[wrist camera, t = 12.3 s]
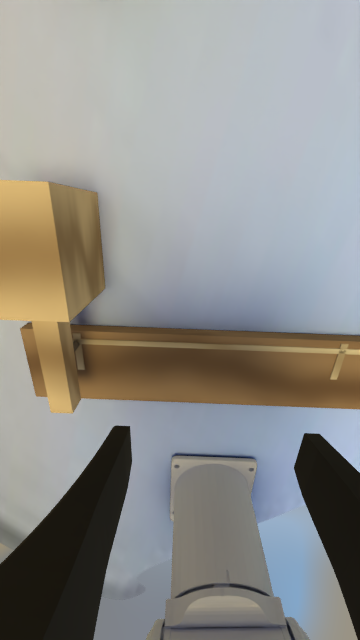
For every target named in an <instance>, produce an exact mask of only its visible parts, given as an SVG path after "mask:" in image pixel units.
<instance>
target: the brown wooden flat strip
mask: <svg viewBox="0 0 360 640" xmlns="http://www.w3.org/2000/svg"><path fill="white" fill-rule="evenodd" d="M70 328H71V335H72V341H73V342H74V341H77V342H79V344H80V345H79V347H78V348H77V349H76V351H75V352H74V355H75V361H76V368H77V374H78V381H79V388H80V394H81V398H90V399H115V400H140V401H165V402H191V403H216V404H241V405H266V406H291V407H316V408H342V409H360V336H354V335H328V334H302V333H276V332H250V331H224V330H198V329H172V328H146V327H120V326H94V325H70ZM20 330H21V334H22V338H23V343H24V347H25V351H26V355H27V360H28V364H29V368H30V372H31V377H32V381H33V385H34V389H35V393H36V396H40V397H48V396H47V391H46V387H45V382H44V377H43V373H42V368H41V363H40V359H39V354H38V349H37V345H36V340H35V335H34V331H33V326H32V323H27V324H26V325H25V326H23V327H22V328H20Z"/></svg>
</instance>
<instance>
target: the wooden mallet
mask: <svg viewBox="0 0 360 640" xmlns="http://www.w3.org/2000/svg"><path fill="white" fill-rule="evenodd" d="M104 289H105V278H104V266H103V255H102V243H101V231H100V219H99V208H98V196H97V193H96V192H92V191H87V190H83V189H78V188H74V187H69V186H65V185H60V184H56V183H51V182H37V181H9V180H0V320H26V321H32V326H33V331H34V335H35V340H36V345H37V349H38V354H39V359H40V363H41V368H42V373H43V377H44V382H45V387H46V391H47V396H48V401H49V405H50V410H51V412H52V413H73V412H74V410H75V409H76V407H77V405H78V403H79V401H80V400H81V394H80V388H79V381H78V374H77V368H76V361H75V355H74V352H75V351H76V349H77V348H78V347H79V345H80V344H79V342H77V341H74V342H73V341H72V335H71V328H70V321H71V320H72V319H73V318H74V317H75V316H76V315H78V314H79V313H80V312H81V311H82V310H83V309H84V308H85V307H86V306H87V305H88V304H89V303H90V302H91V301H92V300H93V299H94V298H95V297H97V296H98V295H99V294H100V293H101V292H102V291H103V290H104Z"/></svg>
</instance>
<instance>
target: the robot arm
mask: <svg viewBox="0 0 360 640" xmlns="http://www.w3.org/2000/svg"><path fill="white" fill-rule="evenodd" d="M131 464H132V453H131V436H130V426H114V427H113V428H112V430H111V432H110V433H109V435H108V436H107V438H106V440H105V441H104V443H103V444H102V446H101V447H100V449H99V450H98V451H97V453H96V454H95V456H94V457H93V459H92V460H91V461H90V463H89V464H88V465H87V467H86V468H85V470H84V471H83V472H82V474H81V475H80V476H79V478H78V479H77V480H76V481H75V483H74V484H73V485H72V486H71V488H70V489H69V490H68V491H67V493H66V494H65V495H64V496H63V498H62V499H61V500H60V501H59V502H58V503H57V505H56V506H55V507H54V508H53V509H52V510H51V512H50V513H49V514H48V515H47V516H46V517H45V518H44V519H43V521H42V522H41V523H40V524H39V525H38V526H37V527H36V528H35V529H34V530H33V531H32V532H31V533H30V534H29V536H28V537H27V538H26V539H25V540H24V541H23V542H22V543H21V544H20V545H19V546H18V547H17V548H16V549H15V550H14V551H13V552H12V553H11V554H10V555H9V556H8V557H7V558H6V559H5V560H4V561H3V562H2V563H1V564H0V640H93V638H94V632H95V626H96V621H97V616H98V610H99V605H100V600H101V594H102V589H103V584H104V579H105V574H106V569H107V565H108V561H109V556H110V553H111V549H112V545H113V541H114V538H115V534H116V530H117V526H118V522H119V519H120V515H121V511H122V507H123V504H124V500H125V496H126V492H127V488H128V482H129V476H130V470H131ZM256 469H257V462H256V460H254V459H247V458H222V457H198V456H174V457H173V458H172V463H171V497H170V519H171V520H172V521H174V523H173V550H172V576H171V577H172V578H171V579H172V580H171V599H167V600H166V609H165V610H166V611H165V619H157V620H156V621H155V623H154V625H153V627H152V629H151V630H150V632H149V634H148V635H147V638H146V640H310V639H309V637H308V636H307V634H306V633H305V632H304V631H303V629H302V628H301V627H300V626H299V625H298V623H297V621H296V620H295V619H294V618H292V617H285V616H284V612H283V608H282V604H281V600H280V598H279V597H274V596H273V591H272V587H271V582H270V578H269V574H268V569H267V565H266V561H265V556H264V552H263V548H262V543H261V539H260V535H259V531H258V526H257V522H256V517H255V513H254V509H253V504H252V500H251V492H252V487H253V483H254V478H255V474H256ZM294 470H295V473H296V477H297V480H298V483H299V487H300V490H301V493H302V496H303V498H304V501H305V503H306V506H307V508H308V510H309V513H310V515H311V517H312V520H313V522H314V525H315V527H316V529H317V531H318V534H319V536H320V539H321V541H322V543H323V545H324V548H325V550H326V553H327V555H328V557H329V560H330V562H331V564H332V567H333V569H334V572H335V574H336V577H337V579H338V582H339V585H340V588H341V591H342V594H343V597H344V599H345V602H346V605H347V608H348V611H349V614H350V617H351V620H352V623H353V626H354V629H355V632H356V635H357V638H358V640H360V473H359V472H358V471H357V470H356V469H355V468H354V467H353V466H352V465H351V464H350V463H349V462H348V461H347V460H346V459H345V458H344V457H343V456H342V455H341V454H340V453H339V452H337V451H336V450H335V449H334V448H333V447H332V446H331V445H330V444H329V443H328V442H327V441H326V440H325V439H324V438H323V437H322V436H321V435H320V434H308V433H304V436H303V440H302V443H301V446H300V450H299V453H298V456H297V459H296V463H295V466H294Z"/></svg>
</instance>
